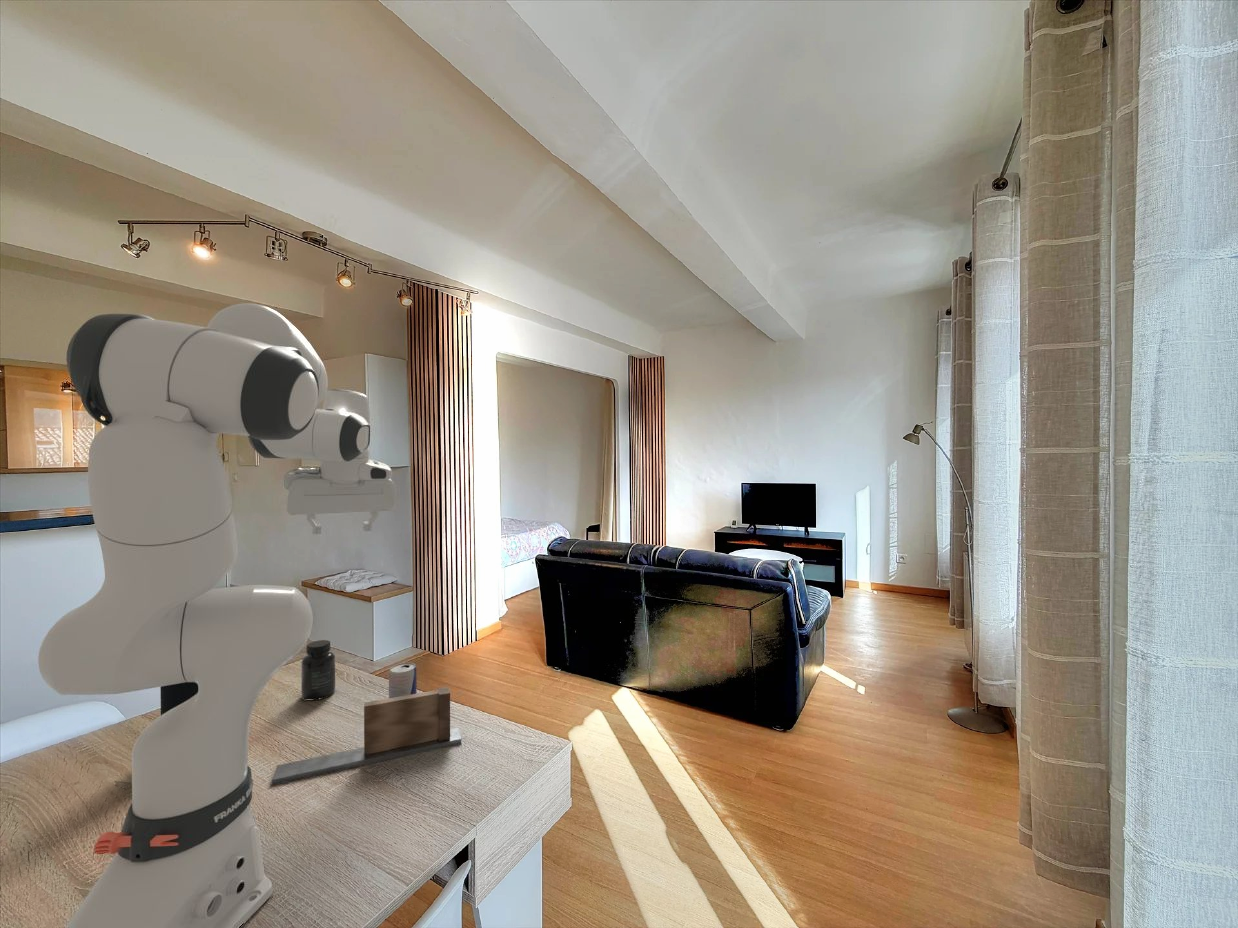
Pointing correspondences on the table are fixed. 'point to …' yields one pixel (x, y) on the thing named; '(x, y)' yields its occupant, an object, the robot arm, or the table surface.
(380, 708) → the walnut screen
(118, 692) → the robot arm
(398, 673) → the energy drink
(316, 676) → the supplement bottle
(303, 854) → the table surface
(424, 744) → the screen rail
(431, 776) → the table surface
